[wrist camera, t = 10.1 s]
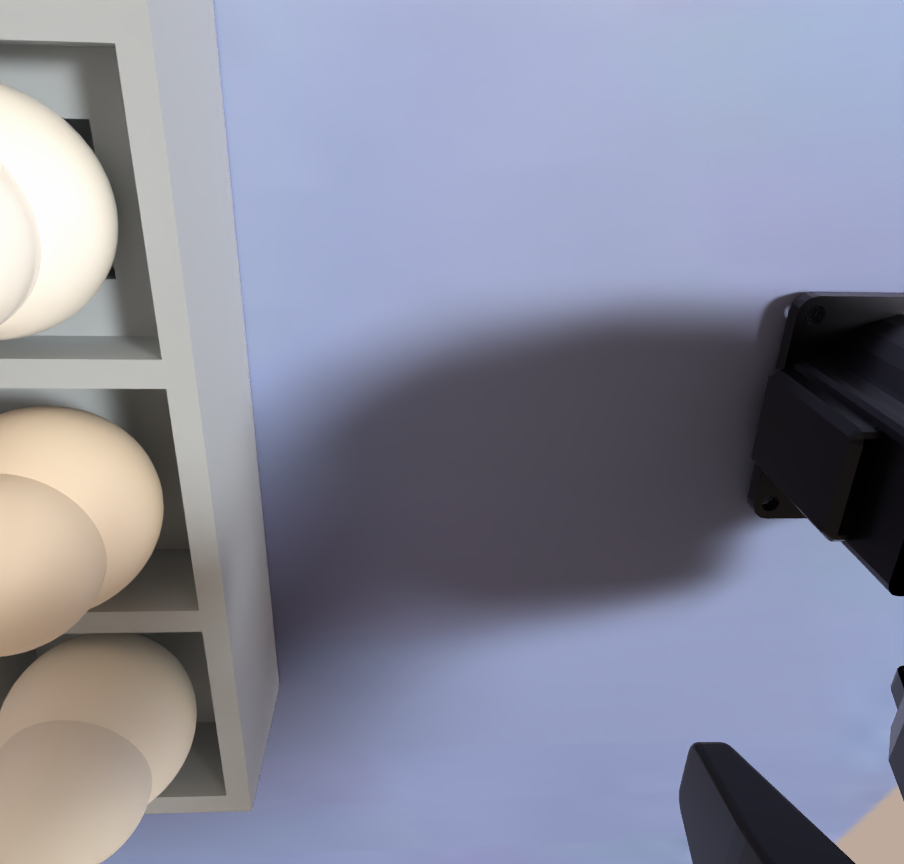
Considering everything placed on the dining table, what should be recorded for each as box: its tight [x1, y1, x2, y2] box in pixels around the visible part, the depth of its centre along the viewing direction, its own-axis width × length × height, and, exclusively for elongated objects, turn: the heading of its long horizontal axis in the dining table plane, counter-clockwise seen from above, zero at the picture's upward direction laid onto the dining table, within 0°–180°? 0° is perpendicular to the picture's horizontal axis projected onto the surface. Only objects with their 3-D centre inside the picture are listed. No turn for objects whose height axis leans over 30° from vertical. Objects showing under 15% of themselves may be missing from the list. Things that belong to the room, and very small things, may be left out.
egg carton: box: [0, 0, 279, 864], centre depth 14 cm, size 7×25×8 cm, turn 178°
